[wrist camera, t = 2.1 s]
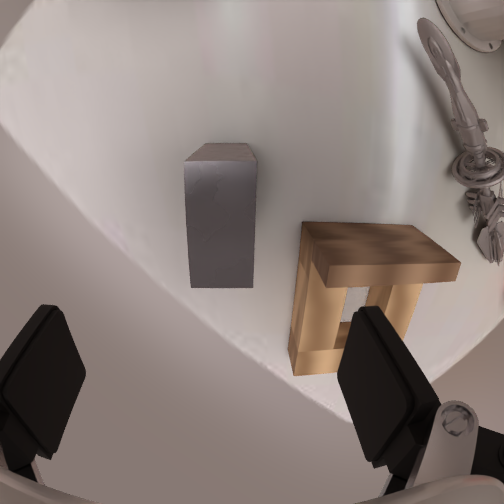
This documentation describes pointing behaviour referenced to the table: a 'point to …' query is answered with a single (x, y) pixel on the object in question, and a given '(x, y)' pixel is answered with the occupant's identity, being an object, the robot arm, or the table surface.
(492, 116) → the table surface
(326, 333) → the wooden frame stool
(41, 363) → the robot arm
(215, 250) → the brushed grey post
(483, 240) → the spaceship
